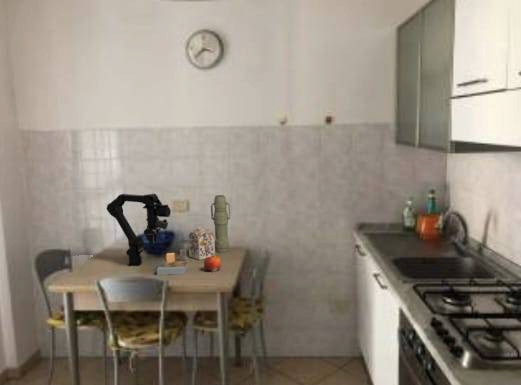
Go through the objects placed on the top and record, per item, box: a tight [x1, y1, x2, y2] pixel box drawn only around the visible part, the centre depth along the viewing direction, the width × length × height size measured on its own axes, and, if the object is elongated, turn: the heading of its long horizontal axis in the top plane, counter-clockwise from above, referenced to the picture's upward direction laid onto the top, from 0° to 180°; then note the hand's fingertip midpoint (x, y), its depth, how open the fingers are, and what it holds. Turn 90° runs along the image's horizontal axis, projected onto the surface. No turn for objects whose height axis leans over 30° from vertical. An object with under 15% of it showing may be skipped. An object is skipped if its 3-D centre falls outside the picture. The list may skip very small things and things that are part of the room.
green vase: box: [210, 194, 231, 253], centre depth 307 cm, size 9×12×35 cm
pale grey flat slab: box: [156, 261, 189, 276], centre depth 270 cm, size 14×16×3 cm
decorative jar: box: [187, 226, 216, 261], centre depth 296 cm, size 12×12×18 cm
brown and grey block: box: [162, 248, 189, 267], centre depth 269 cm, size 12×8×8 cm, turn 90°
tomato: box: [203, 255, 222, 272], centre depth 267 cm, size 9×9×8 cm
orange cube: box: [165, 252, 176, 262], centre depth 269 cm, size 4×4×4 cm
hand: (153, 243), depth 278 cm, fingers open, 9 cm apart
